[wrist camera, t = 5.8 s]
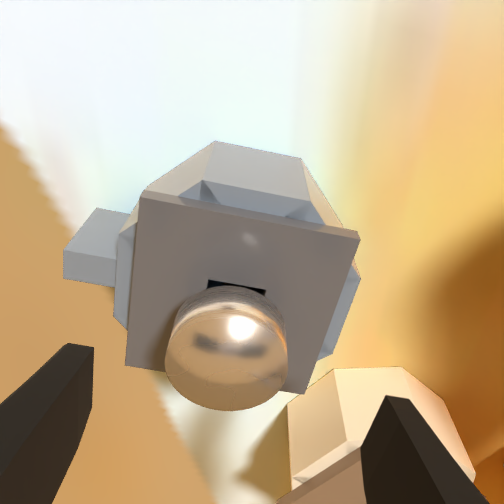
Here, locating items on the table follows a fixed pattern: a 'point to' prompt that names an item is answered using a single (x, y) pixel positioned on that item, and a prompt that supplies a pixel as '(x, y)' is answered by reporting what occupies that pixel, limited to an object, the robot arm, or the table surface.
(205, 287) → the gray faceted block
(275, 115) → the table surface
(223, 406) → the metal bulb with stem
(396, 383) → the cream boxy piece
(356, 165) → the table surface
